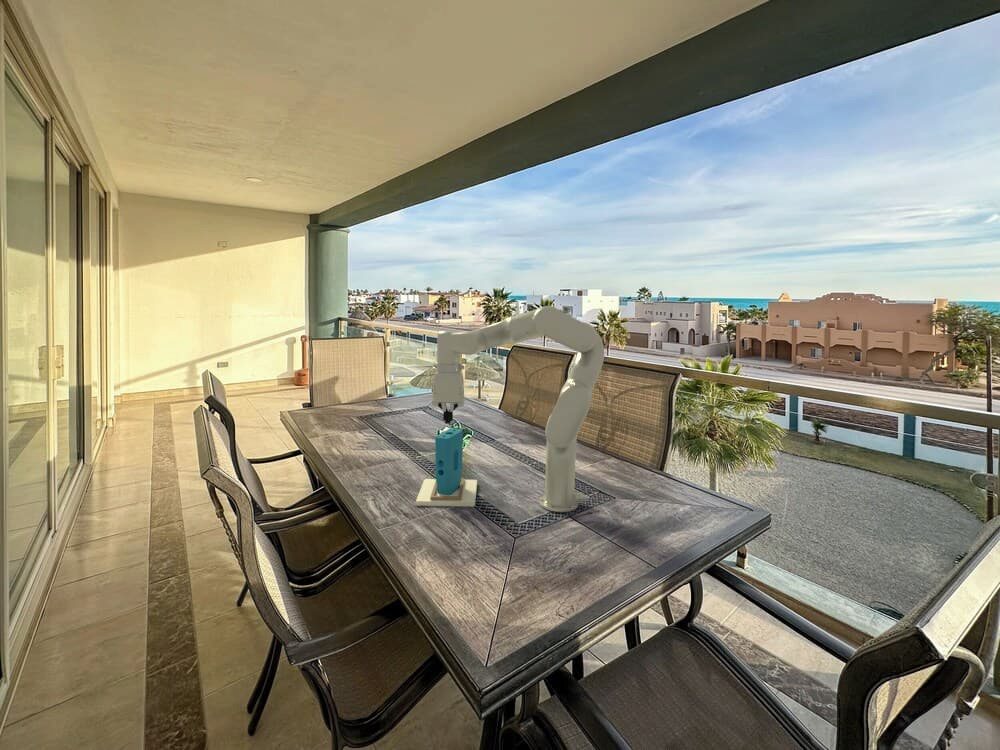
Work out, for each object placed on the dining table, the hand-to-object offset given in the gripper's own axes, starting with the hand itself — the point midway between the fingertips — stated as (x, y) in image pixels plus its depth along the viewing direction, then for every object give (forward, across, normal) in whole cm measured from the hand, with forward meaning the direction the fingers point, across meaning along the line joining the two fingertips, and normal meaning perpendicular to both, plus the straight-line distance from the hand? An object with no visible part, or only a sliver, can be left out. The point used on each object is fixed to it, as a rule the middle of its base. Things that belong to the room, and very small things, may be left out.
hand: (448, 422), depth 154 cm
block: (+24, -1, 0) cm, 24 cm away
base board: (+25, 0, 0) cm, 25 cm away
